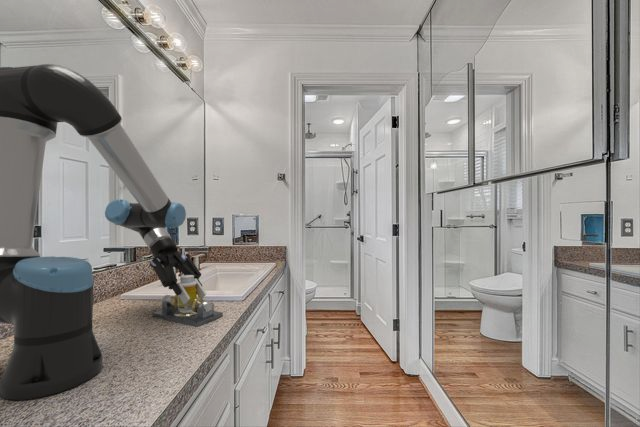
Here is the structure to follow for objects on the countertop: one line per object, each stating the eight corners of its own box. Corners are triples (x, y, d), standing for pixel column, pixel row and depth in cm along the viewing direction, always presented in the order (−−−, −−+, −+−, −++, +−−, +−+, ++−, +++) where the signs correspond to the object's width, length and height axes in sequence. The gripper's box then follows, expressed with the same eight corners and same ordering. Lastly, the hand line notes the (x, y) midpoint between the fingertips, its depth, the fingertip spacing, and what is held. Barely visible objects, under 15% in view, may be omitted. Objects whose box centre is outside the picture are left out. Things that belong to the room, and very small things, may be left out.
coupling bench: (197, 326, 87) (197, 304, 87) (152, 316, 96) (152, 296, 96) (222, 316, 96) (222, 296, 96) (179, 308, 105) (179, 289, 105)
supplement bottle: (199, 308, 95) (199, 276, 96) (180, 312, 92) (180, 278, 92) (193, 304, 100) (193, 273, 100) (175, 308, 96) (175, 275, 96)
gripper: (179, 249, 111) (212, 299, 104) (128, 255, 95) (162, 315, 87) (189, 235, 109) (223, 285, 101) (139, 238, 92) (175, 298, 85)
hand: (195, 299), depth 94 cm, fingers closed on supplement bottle, 5 cm apart
